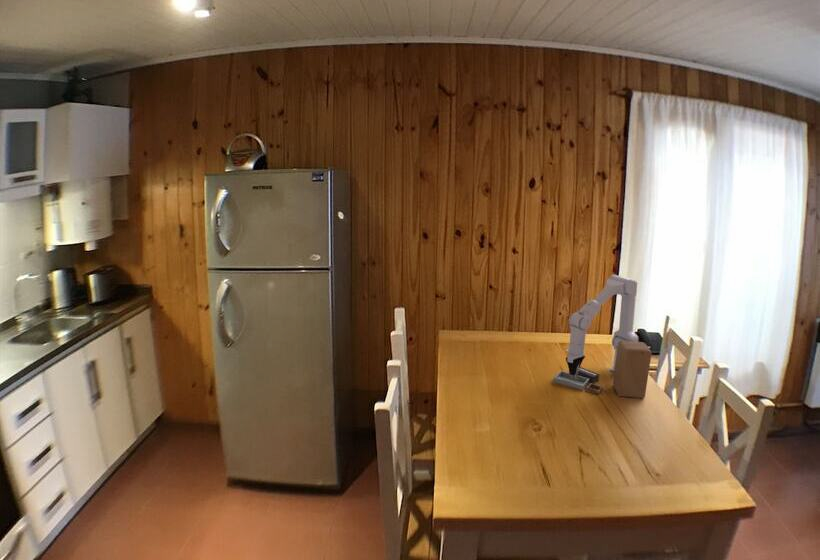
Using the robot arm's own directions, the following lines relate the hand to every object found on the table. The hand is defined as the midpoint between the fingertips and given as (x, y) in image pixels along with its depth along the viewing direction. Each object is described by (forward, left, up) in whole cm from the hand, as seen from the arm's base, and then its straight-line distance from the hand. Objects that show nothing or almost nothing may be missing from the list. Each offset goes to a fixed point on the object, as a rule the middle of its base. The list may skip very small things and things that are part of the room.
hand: (573, 373), depth 185 cm
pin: (-1, 0, -2) cm, 2 cm away
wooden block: (-20, -6, -5) cm, 21 cm away
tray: (0, +1, -4) cm, 4 cm away
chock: (-3, -7, -5) cm, 9 cm away
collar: (-9, +1, -4) cm, 10 cm away
